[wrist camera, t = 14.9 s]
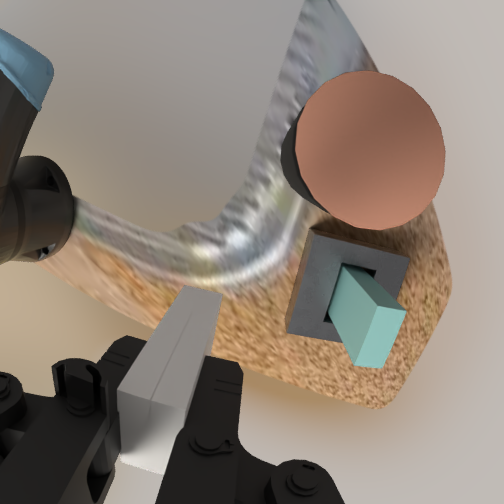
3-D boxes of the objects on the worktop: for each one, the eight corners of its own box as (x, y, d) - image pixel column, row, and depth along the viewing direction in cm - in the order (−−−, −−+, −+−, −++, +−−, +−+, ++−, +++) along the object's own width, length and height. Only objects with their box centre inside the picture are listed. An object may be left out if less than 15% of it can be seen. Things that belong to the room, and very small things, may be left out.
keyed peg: (337, 260, 39) (377, 305, 25) (359, 265, 39) (406, 311, 25) (323, 304, 40) (354, 365, 27) (345, 308, 40) (382, 368, 27)
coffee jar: (383, 149, 35) (467, 137, 18) (337, 221, 38) (395, 261, 20) (310, 97, 34) (348, 40, 17) (262, 171, 37) (261, 170, 19)
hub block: (284, 318, 41) (286, 332, 37) (309, 228, 38) (314, 234, 34) (368, 333, 41) (377, 347, 37) (397, 250, 38) (410, 258, 34)
